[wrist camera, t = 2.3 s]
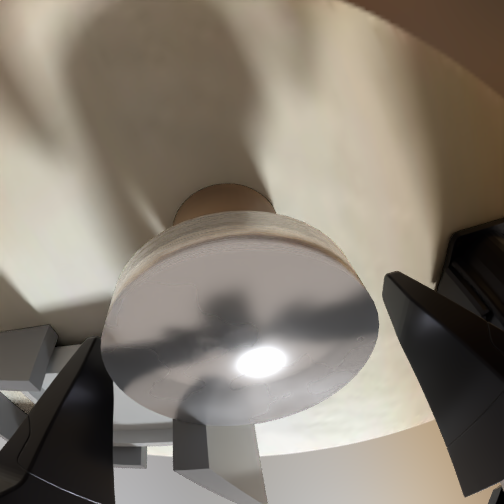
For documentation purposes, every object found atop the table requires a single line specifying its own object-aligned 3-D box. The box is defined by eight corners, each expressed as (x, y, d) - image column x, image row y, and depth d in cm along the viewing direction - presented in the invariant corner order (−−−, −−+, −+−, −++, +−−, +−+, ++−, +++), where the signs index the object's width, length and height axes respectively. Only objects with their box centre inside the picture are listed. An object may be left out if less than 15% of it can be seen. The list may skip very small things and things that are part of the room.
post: (270, 172, 11) (308, 242, 7) (284, 263, 14) (315, 351, 10) (158, 199, 11) (133, 281, 7) (190, 284, 14) (188, 377, 10)
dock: (49, 324, 14) (28, 380, 11) (147, 428, 22) (146, 468, 19) (-55, 339, 14) (-72, 374, 11) (35, 424, 22) (28, 455, 19)
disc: (358, 183, 6) (394, 216, 5) (349, 361, 10) (363, 396, 9) (68, 251, 6) (44, 295, 5) (168, 398, 10) (167, 434, 9)
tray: (201, 298, 14) (209, 468, 8) (253, 418, 22) (268, 507, 15) (-1, 334, 14) (-38, 436, 7) (101, 430, 22) (95, 506, 15)
